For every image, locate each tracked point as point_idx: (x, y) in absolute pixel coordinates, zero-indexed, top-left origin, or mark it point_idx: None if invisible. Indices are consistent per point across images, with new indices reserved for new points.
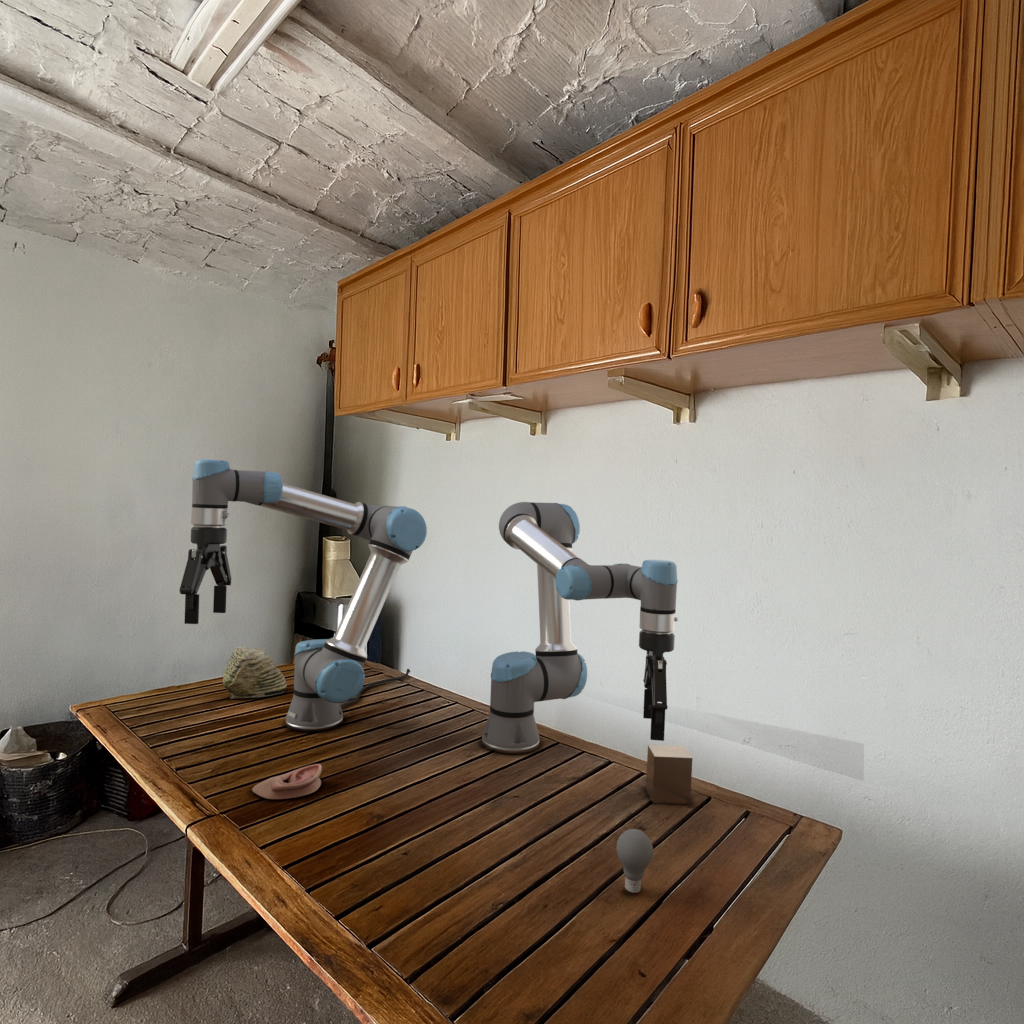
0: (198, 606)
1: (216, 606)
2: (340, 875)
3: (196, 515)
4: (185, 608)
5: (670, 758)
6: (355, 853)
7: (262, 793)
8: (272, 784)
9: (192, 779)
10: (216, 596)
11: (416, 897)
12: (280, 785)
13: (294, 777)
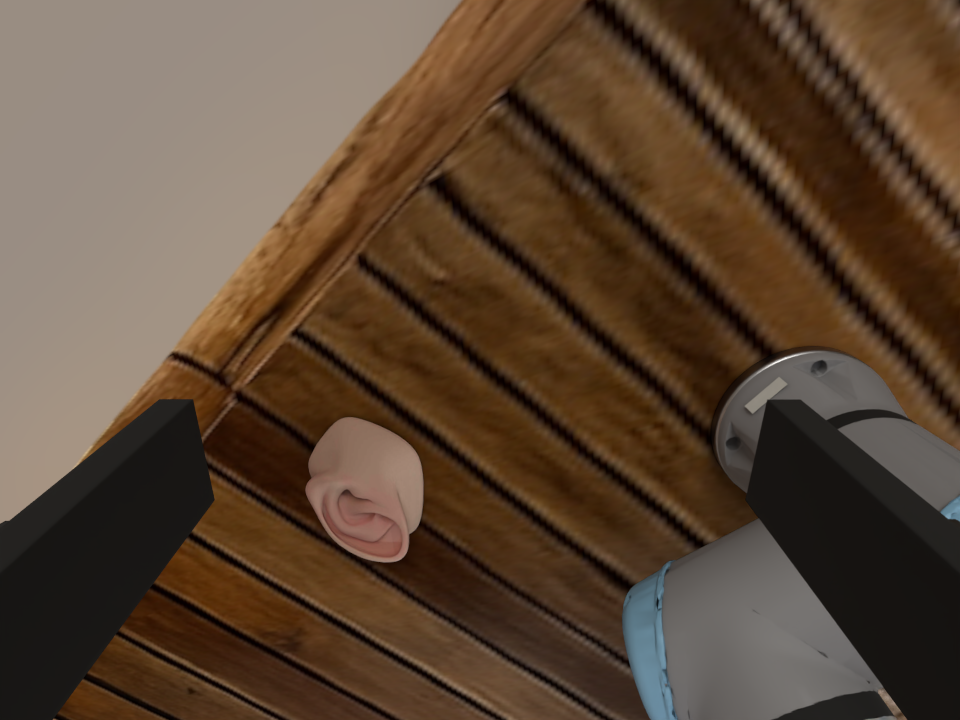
0: (105, 630)
1: (797, 465)
2: None
3: None
4: (49, 494)
5: None
6: (170, 635)
7: (317, 450)
8: (314, 481)
9: (381, 255)
10: (875, 545)
11: (93, 713)
12: (311, 498)
13: (359, 511)
